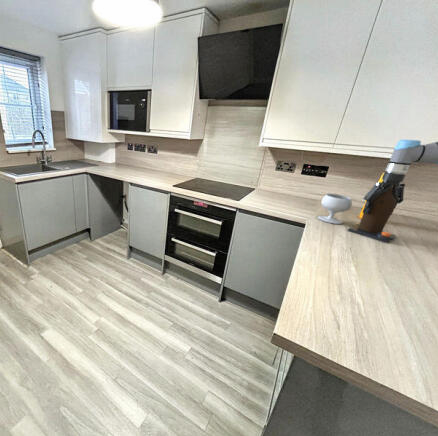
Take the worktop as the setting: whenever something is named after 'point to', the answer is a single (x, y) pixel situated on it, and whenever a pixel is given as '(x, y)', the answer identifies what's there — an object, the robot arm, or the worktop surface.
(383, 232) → the tare button
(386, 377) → the worktop surface
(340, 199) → the chalice
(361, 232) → the scale
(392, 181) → the robot arm
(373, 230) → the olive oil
